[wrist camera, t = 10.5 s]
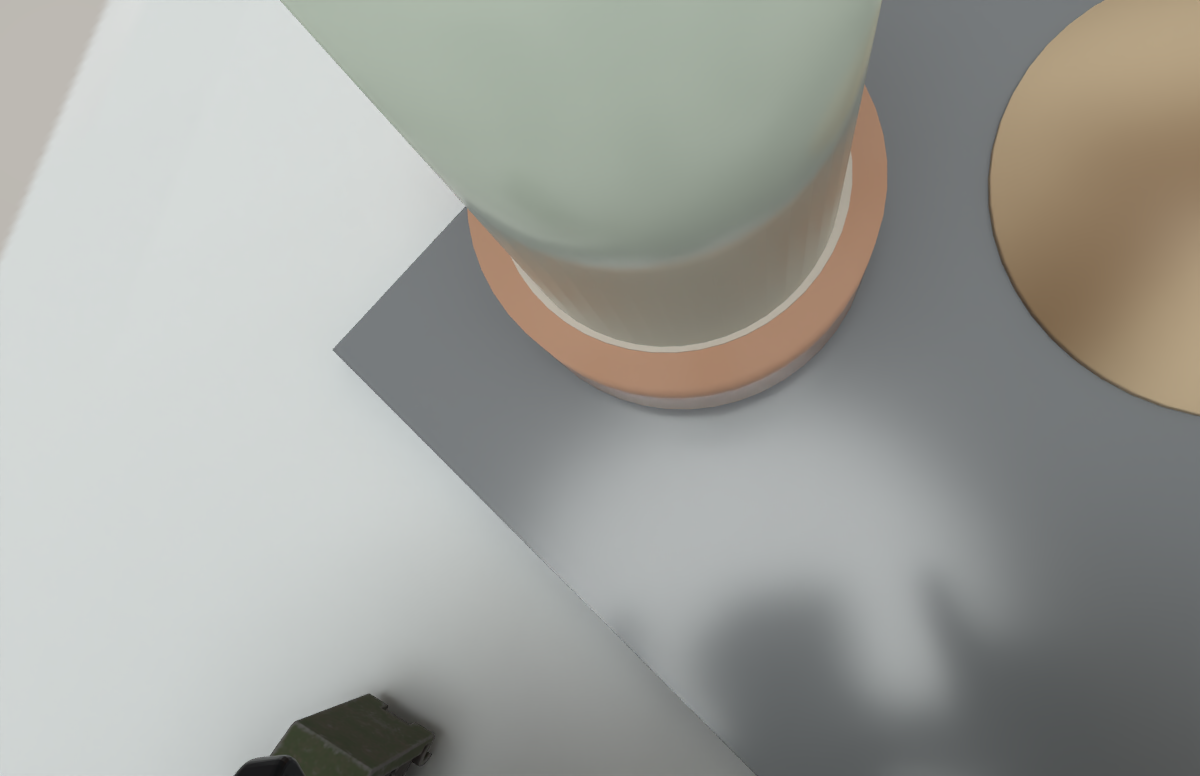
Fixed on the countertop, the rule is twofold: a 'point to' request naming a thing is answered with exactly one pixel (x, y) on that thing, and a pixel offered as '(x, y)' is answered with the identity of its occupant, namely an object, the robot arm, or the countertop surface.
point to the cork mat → (1110, 196)
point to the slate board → (858, 481)
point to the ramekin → (727, 361)
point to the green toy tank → (356, 741)
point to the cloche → (627, 140)
